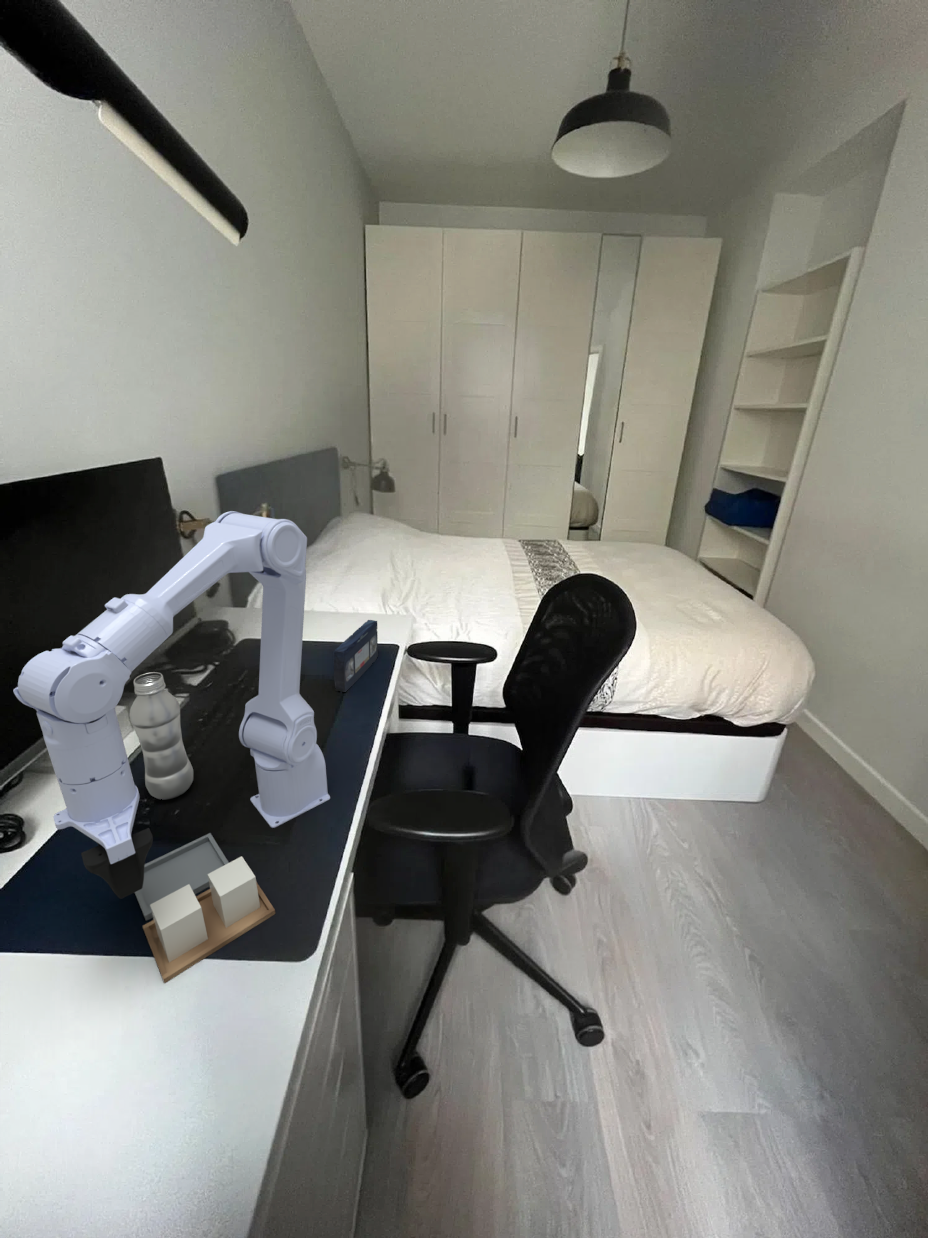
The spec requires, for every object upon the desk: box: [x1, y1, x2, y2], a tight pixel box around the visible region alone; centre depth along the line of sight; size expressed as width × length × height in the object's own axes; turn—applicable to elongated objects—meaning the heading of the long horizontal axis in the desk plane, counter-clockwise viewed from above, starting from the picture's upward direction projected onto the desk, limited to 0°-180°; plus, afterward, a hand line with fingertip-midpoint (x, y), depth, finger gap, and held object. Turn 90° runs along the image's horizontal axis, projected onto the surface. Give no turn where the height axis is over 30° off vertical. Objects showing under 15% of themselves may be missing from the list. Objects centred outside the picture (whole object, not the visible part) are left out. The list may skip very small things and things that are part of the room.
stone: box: [208, 856, 260, 928], centre depth 61 cm, size 4×4×5 cm
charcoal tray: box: [134, 832, 230, 922], centre depth 65 cm, size 10×8×1 cm
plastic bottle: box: [128, 671, 194, 801], centre depth 76 cm, size 6×7×20 cm
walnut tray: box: [142, 881, 276, 984], centre depth 60 cm, size 12×8×1 cm, turn 134°
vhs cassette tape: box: [332, 619, 379, 693], centre depth 116 cm, size 18×3×10 cm, turn 165°
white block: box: [150, 884, 208, 962], centre depth 57 cm, size 4×4×5 cm
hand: (122, 868), depth 55 cm, fingers open, 7 cm apart
